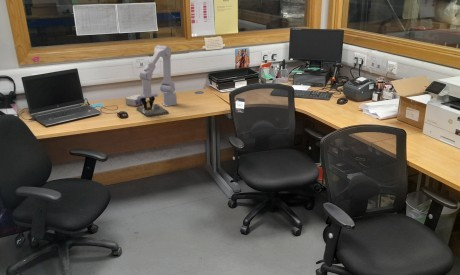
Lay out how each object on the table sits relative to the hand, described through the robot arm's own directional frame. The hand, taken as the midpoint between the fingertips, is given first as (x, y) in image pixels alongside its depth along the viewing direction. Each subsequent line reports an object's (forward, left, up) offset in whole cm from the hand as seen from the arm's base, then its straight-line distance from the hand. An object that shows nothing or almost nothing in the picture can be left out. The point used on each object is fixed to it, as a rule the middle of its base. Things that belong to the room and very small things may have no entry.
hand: (148, 107), depth 275 cm
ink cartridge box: (+4, -24, -2) cm, 24 cm away
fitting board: (-4, -3, -4) cm, 7 cm away
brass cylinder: (0, 0, -2) cm, 2 cm away
